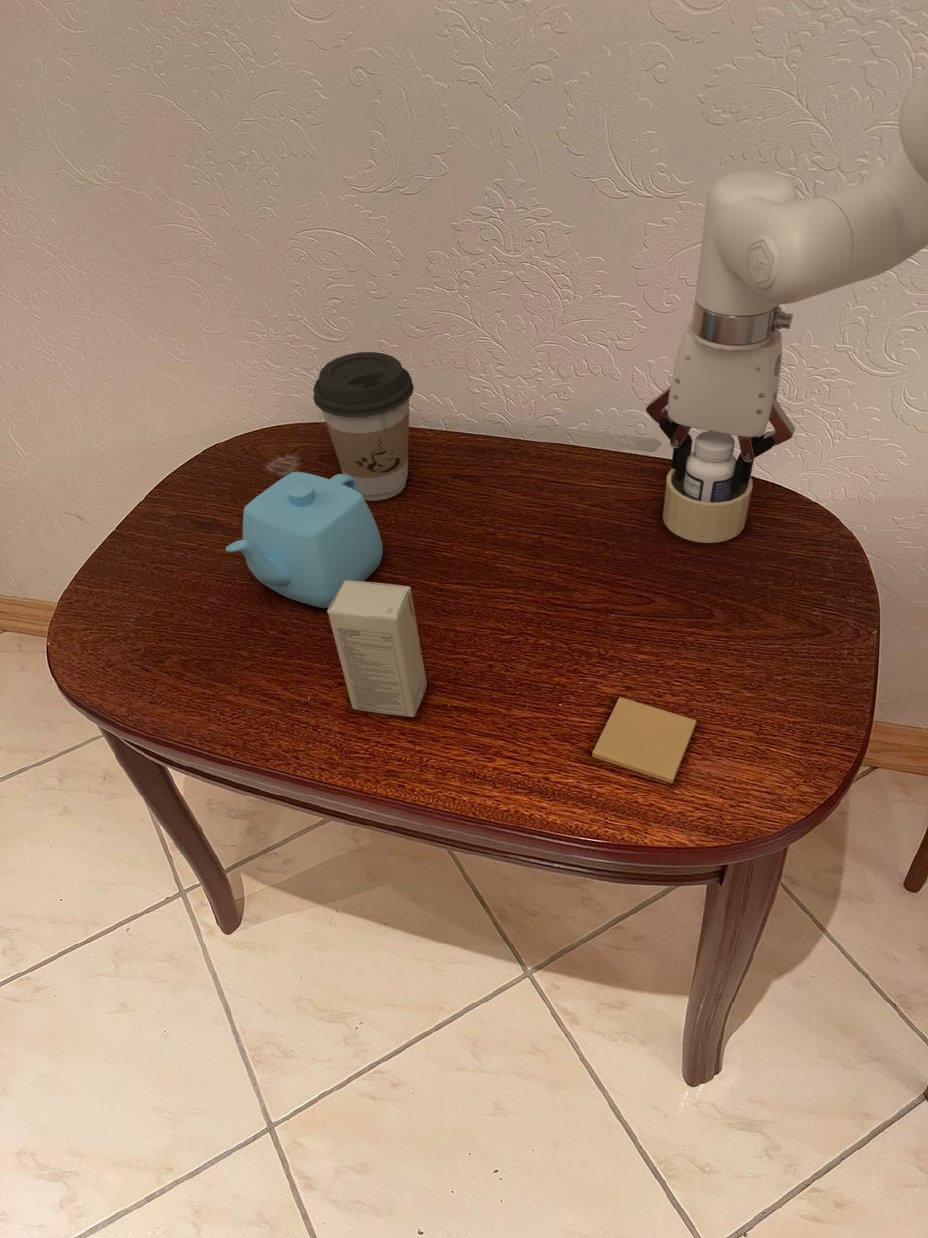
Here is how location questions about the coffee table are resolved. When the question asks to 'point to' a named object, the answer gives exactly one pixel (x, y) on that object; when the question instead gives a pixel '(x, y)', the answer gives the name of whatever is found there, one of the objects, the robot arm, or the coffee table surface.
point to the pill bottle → (710, 468)
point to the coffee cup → (368, 419)
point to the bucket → (704, 513)
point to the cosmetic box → (379, 647)
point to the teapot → (310, 537)
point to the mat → (645, 739)
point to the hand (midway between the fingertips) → (709, 479)
